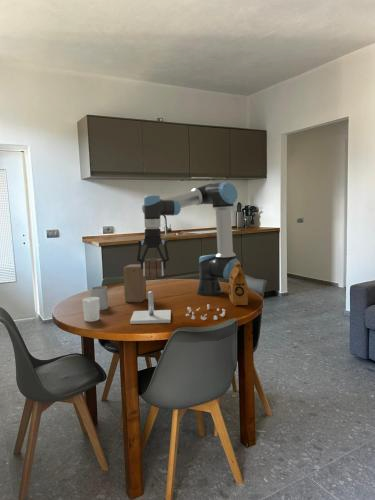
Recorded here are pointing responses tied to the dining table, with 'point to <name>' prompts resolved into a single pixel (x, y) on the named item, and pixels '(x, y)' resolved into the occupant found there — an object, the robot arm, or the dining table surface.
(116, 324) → the dining table surface
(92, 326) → the dining table surface
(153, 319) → the white flat block
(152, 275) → the walnut bead
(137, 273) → the wooden block
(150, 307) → the post
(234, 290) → the coffee package
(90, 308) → the white cup
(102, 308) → the mug
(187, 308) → the game piece set
